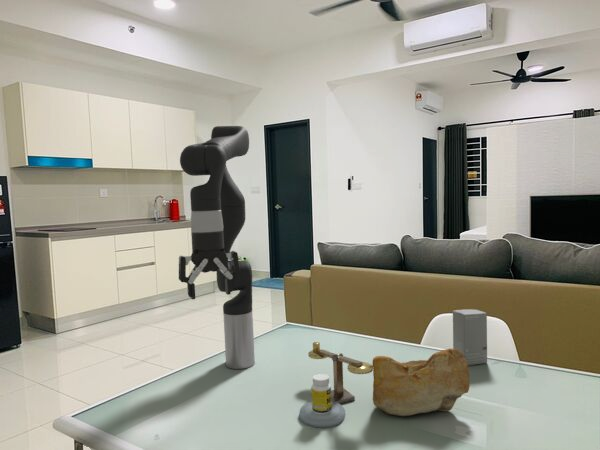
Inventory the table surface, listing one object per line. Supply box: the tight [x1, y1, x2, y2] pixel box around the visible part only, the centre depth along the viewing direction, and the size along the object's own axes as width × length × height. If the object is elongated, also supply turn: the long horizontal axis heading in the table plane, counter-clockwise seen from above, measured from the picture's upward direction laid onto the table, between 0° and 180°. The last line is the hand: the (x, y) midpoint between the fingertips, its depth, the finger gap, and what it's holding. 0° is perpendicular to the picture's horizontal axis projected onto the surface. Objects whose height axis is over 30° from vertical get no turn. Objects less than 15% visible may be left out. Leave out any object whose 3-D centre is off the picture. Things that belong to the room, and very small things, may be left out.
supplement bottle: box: [311, 373, 332, 415], centre depth 106 cm, size 5×5×8 cm
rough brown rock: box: [372, 348, 471, 417], centre depth 111 cm, size 23×17×15 cm
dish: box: [299, 401, 346, 429], centre depth 107 cm, size 11×11×1 cm
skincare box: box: [452, 308, 488, 366], centre depth 137 cm, size 8×7×16 cm
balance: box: [307, 341, 373, 405], centre depth 115 cm, size 28×6×13 cm, turn 24°
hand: (210, 296), depth 106 cm, fingers open, 8 cm apart
